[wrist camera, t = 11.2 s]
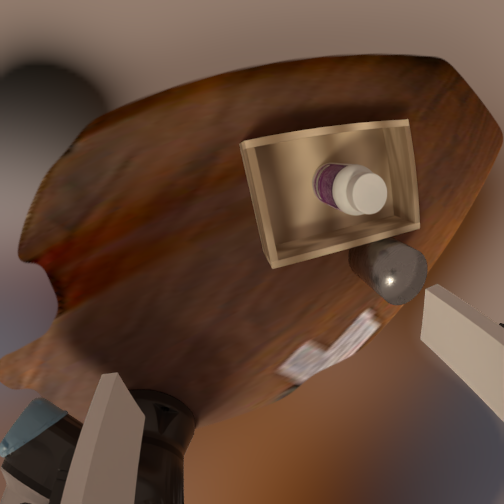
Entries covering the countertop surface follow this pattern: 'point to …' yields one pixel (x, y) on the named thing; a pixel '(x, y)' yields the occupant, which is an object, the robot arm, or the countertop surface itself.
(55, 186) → the countertop surface
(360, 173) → the pill bottle
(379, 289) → the tin can
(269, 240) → the caddy
